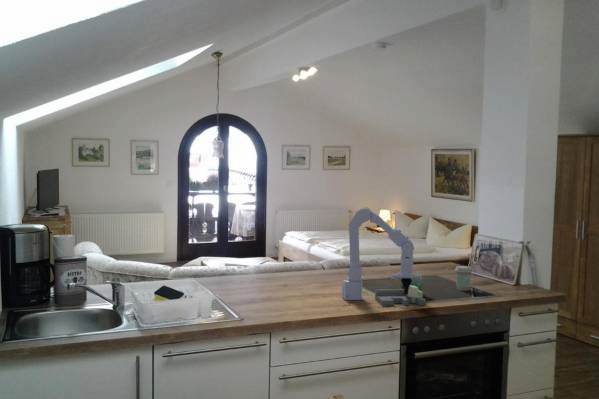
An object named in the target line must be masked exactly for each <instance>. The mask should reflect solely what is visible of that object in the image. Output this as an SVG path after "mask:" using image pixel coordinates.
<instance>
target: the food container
mask: <svg viewBox="0 0 599 399" xmlns="http://www.w3.org/2000/svg"><path fill="white" fill-rule="evenodd" d="M421 275H422V279H411V280H412V282H411V284H410V285H411V286H416V287H418V290H420V291H421V292H422V289H423V288H422V287H423V281H424V280H425V277H424V275H423V274H421ZM400 283H401V289H404V287H403V284H402V282H401V281H400Z"/></svg>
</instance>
